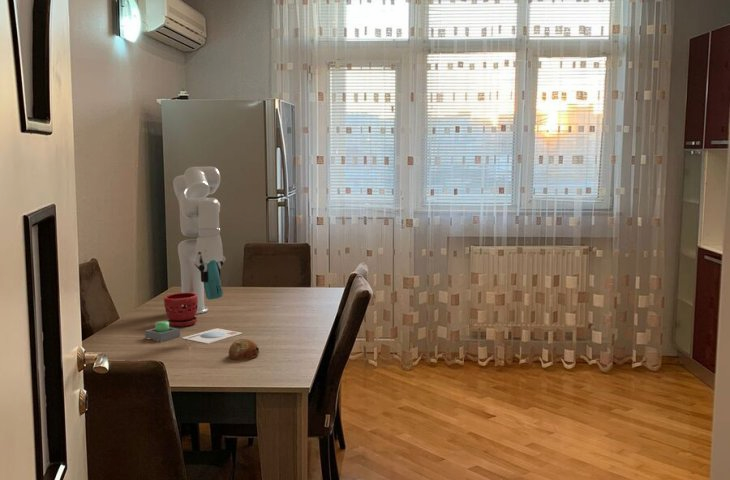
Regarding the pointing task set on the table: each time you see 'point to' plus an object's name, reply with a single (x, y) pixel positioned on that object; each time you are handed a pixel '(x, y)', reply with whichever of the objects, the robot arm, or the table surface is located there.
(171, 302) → the plant pot
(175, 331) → the button housing
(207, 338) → the drawing sheet
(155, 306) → the table surface
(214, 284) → the beverage bottle
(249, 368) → the table surface
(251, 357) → the bread roll
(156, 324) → the button
